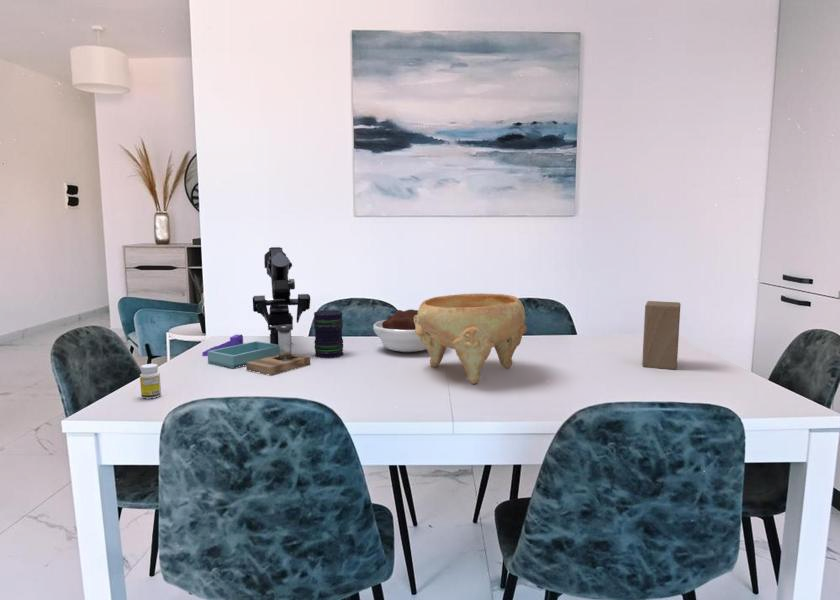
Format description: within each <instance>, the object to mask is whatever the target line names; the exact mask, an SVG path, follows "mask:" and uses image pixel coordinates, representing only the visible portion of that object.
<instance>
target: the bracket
mask: <svg viewBox="0 0 840 600" xmlns="http://www.w3.org/2000/svg"><path fill="white" fill-rule="evenodd" d="M240 344H244V336H243V334H234V335H232V336H230V337H229V340H228V341H226V342H223V343H221V344H219V345H216V346H213V347H210V348H208V349H206V350H205V351H202V352H201V353H202V355H201V356H202V357H208V351H211V350H216V349H221V348H226V347H230V346H235V345H240Z"/></svg>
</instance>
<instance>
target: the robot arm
mask: <svg viewBox="0 0 840 600" xmlns="http://www.w3.org/2000/svg"><path fill="white" fill-rule="evenodd" d="M263 259H264V269H266V274H267V275H268V277H270V279H271V280H270V281H271V294H272V296H271V297H272V298H266V296H265V295H253V296H252V311H253V312H255V313H256V312H257V314H261V316H262V317H263V318H264V320H265V321H266V323H267V330H268V331H270V333H269V343H271V344H277V345H279V343H278V331H277V330H276V326H277V325H283V324H289V325H293V323H294V322H293V321H294V317H293V315H292V312H290V310H289V309H290V308H289V306H297V307H296V308H297V309H296V323H297V324H298V323H299V321H300V319H301V316H302V314H303V312H306V311H308V310H310V309H311V307H310V306H311V295H310V294H309V293H298V294H297V298H291V290H295V289H296V283H295V278H289V272H290V271H289V270H291V268H292V267H293V263H292V262H291V261H290V259H289V257H288V256H287V254H286V253H285V252H284V251H283V247H281V246H274V247H273V246H272V247H269V248H268V251H266V253H265V254H264V258H263ZM268 306H269V311H268ZM293 326H294V325H293ZM292 344H293V342H291V345H292Z"/></svg>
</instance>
